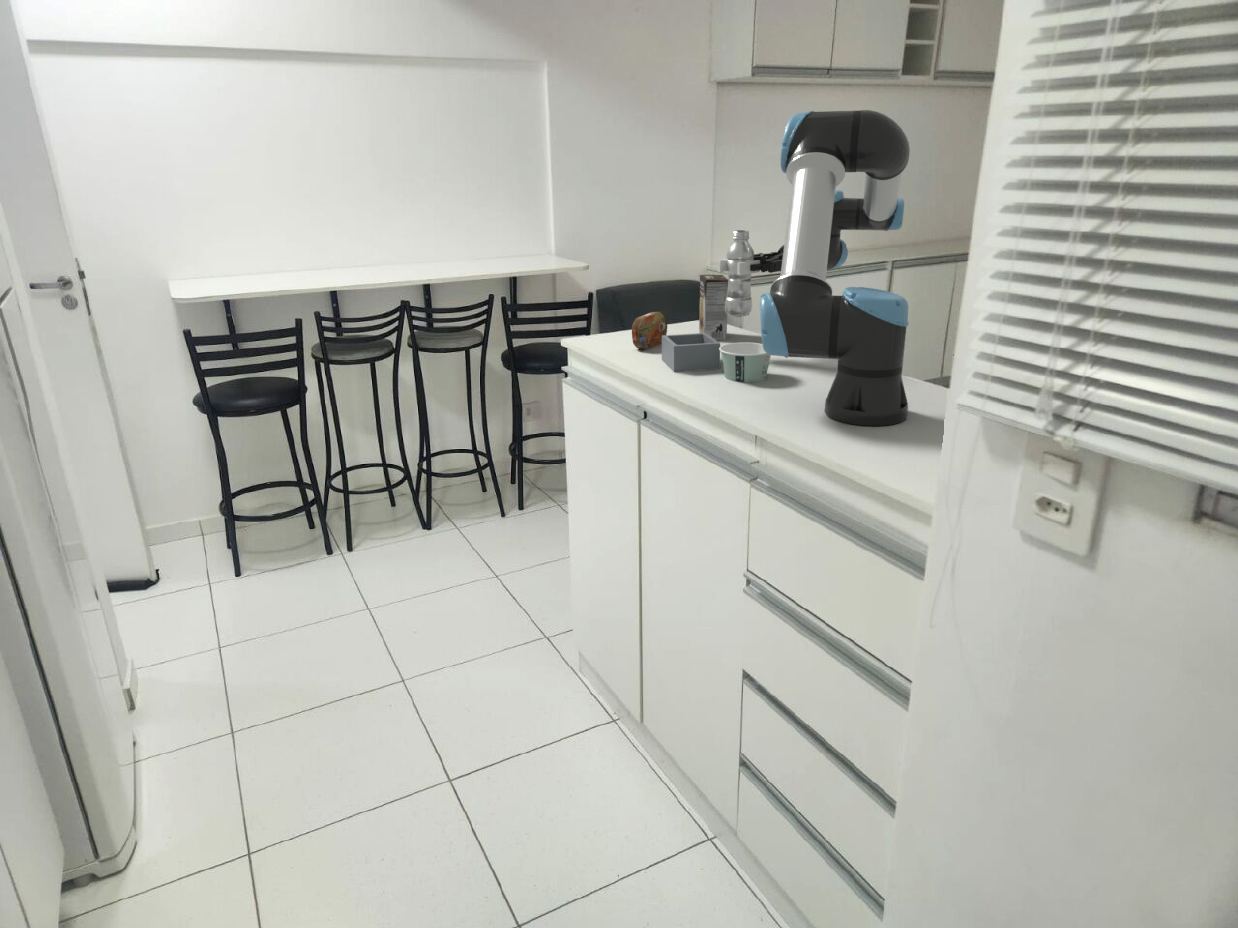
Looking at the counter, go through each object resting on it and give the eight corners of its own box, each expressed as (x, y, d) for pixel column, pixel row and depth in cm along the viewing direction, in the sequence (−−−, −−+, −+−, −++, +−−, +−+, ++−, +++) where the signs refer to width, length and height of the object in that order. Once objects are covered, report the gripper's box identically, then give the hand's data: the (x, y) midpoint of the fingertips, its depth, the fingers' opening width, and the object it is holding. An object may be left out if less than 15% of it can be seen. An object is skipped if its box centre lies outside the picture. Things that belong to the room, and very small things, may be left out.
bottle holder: (719, 368, 187) (720, 343, 185) (673, 371, 185) (674, 346, 183) (705, 356, 198) (705, 332, 196) (661, 359, 196) (661, 335, 194)
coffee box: (698, 333, 224) (699, 274, 218) (721, 332, 224) (722, 274, 218) (703, 340, 215) (704, 279, 210) (727, 339, 216) (728, 278, 210)
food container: (771, 384, 174) (773, 355, 171) (716, 383, 176) (716, 353, 174) (772, 370, 185) (774, 342, 182) (720, 369, 187) (721, 341, 185)
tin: (640, 352, 204) (639, 319, 201) (629, 351, 206) (629, 318, 203) (668, 340, 216) (668, 309, 213) (658, 339, 218) (658, 308, 215)
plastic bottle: (718, 317, 194) (720, 231, 187) (737, 313, 198) (739, 229, 191) (739, 320, 190) (742, 233, 182) (757, 316, 194) (761, 230, 187)
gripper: (825, 277, 194) (756, 288, 182) (769, 270, 209) (701, 279, 196) (827, 246, 191) (758, 254, 179) (770, 240, 206) (702, 247, 194)
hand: (728, 267), depth 188 cm, fingers closed on plastic bottle, 6 cm apart
